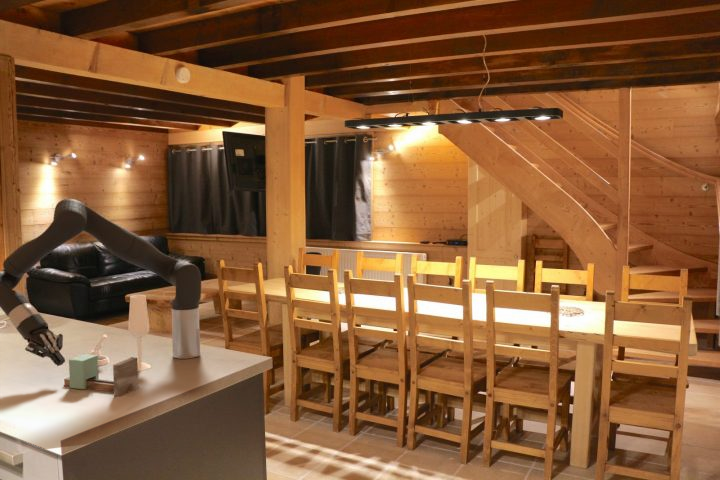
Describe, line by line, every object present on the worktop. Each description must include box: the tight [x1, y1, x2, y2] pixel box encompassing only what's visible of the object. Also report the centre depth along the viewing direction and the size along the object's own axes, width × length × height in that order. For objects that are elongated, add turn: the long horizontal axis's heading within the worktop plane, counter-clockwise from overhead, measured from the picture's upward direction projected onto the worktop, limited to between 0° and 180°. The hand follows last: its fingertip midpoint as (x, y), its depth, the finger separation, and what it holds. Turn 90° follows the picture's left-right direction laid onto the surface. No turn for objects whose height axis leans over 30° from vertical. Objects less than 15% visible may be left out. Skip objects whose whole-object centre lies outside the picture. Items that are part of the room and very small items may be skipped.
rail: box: [64, 356, 139, 397], centre depth 173 cm, size 22×8×9 cm, turn 73°
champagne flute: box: [127, 294, 152, 372], centre depth 192 cm, size 7×7×24 cm
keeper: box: [68, 353, 99, 390], centre depth 175 cm, size 5×6×8 cm
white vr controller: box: [89, 334, 111, 367], centre depth 198 cm, size 8×12×7 cm
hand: (61, 363), depth 177 cm, fingers closed
